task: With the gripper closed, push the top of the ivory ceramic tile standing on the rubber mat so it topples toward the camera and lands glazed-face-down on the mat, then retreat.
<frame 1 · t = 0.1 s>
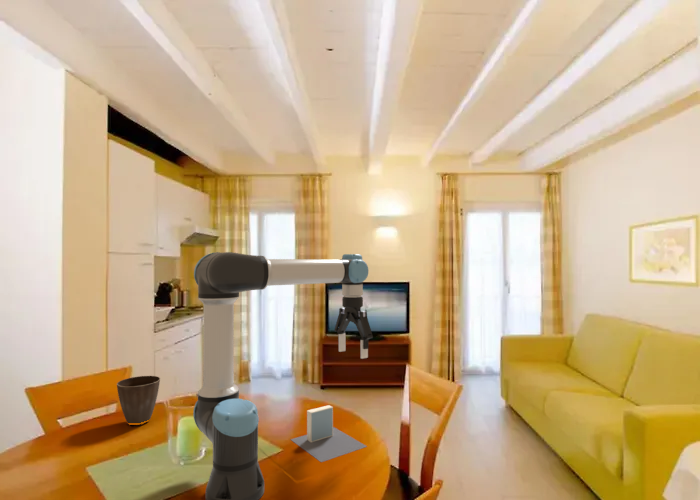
hand: (352, 354, 151), 28 cm above the table, fingers open, 13 cm apart
tile: (320, 437, 144), point 1 cm above the table, touching mat
mat: (328, 444, 140), on the table
plant pot: (138, 423, 159), on the table
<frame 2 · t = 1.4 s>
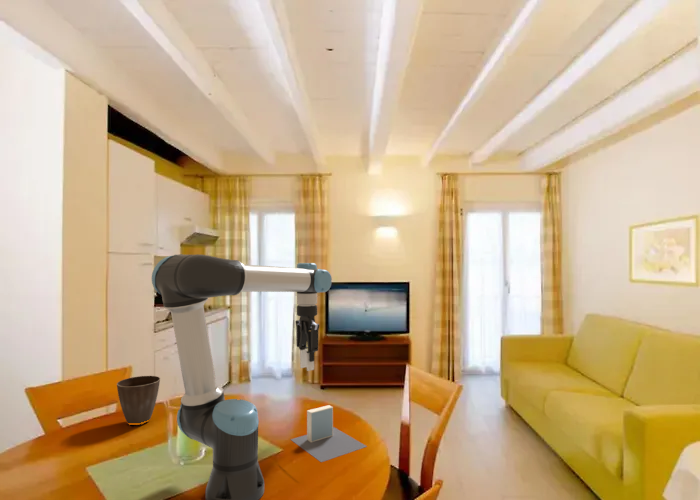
hand: (307, 368, 152), 23 cm above the table, fingers open, 4 cm apart
nothing on the table moved.
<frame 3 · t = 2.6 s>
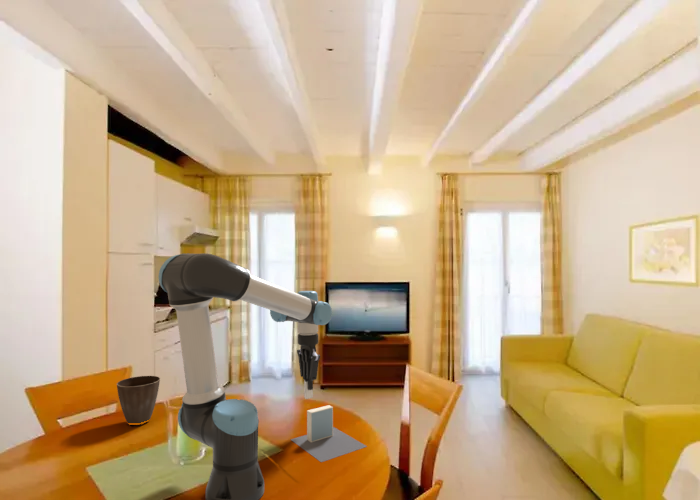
hand: (308, 397, 151), 12 cm above the table, fingers closed
nothing on the table moved.
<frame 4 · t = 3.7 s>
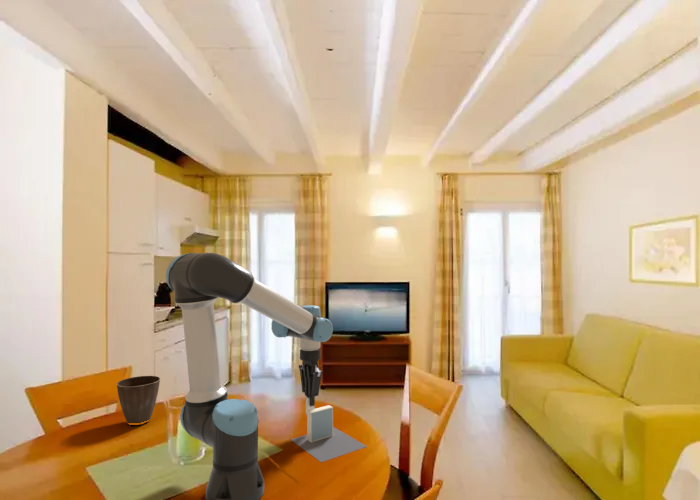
hand: (310, 414, 149), 7 cm above the table, fingers closed
nothing on the table moved.
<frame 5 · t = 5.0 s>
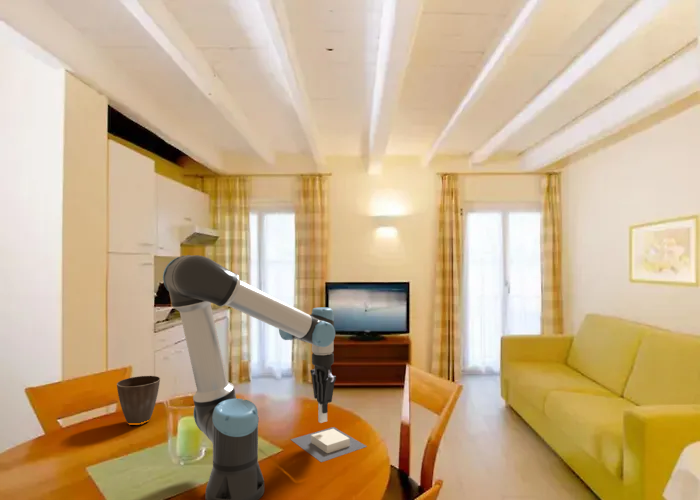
hand: (322, 421, 143), 7 cm above the table, fingers closed
tile: (322, 435, 143), point 2 cm above the table, tilted 90°, touching mat
everything else where it was.
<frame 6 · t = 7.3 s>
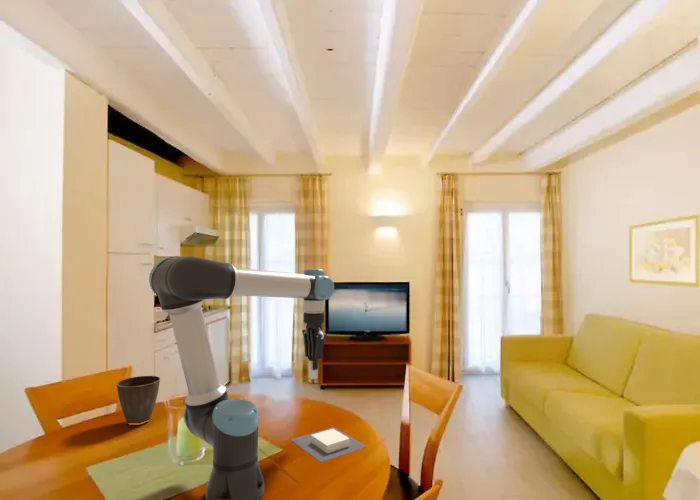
hand: (313, 378, 148), 20 cm above the table, fingers closed
nothing on the table moved.
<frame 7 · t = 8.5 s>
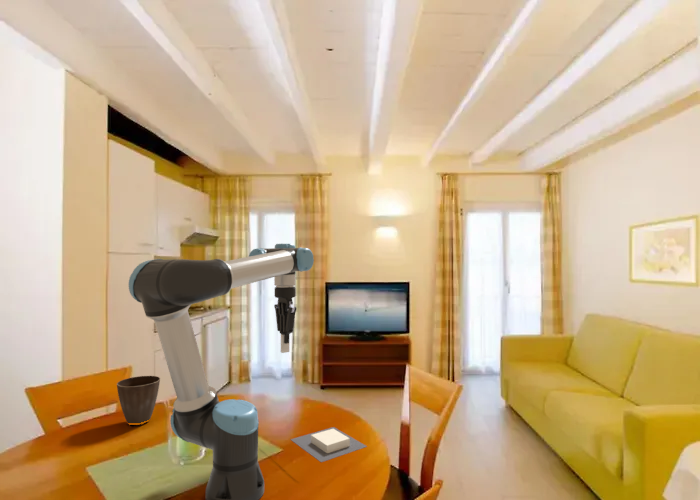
hand: (285, 352, 149), 29 cm above the table, fingers closed
nothing on the table moved.
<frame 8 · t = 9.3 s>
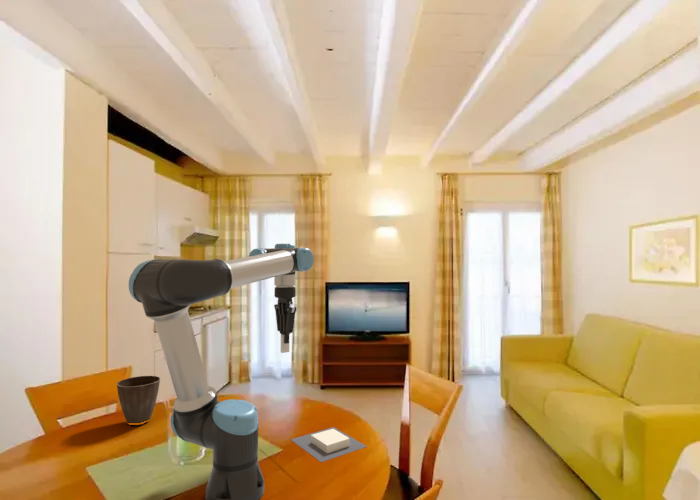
hand: (284, 352, 149), 29 cm above the table, fingers closed
nothing on the table moved.
at the end: tile tilted 90°; tile inside the target area (3.1 cm from its centre), point 1.9 cm above the table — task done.
